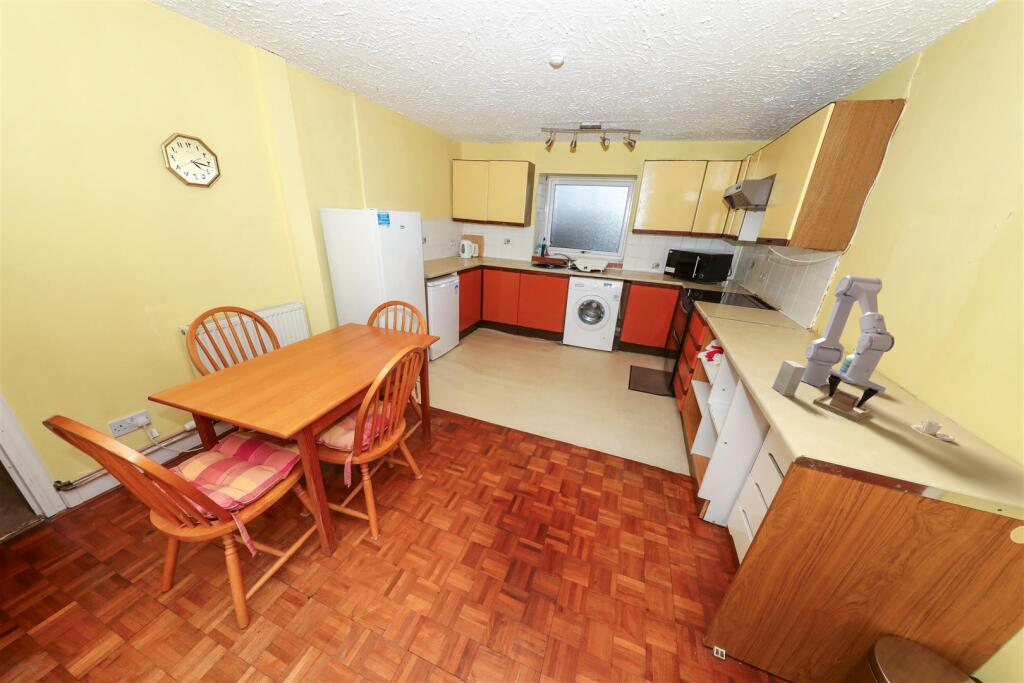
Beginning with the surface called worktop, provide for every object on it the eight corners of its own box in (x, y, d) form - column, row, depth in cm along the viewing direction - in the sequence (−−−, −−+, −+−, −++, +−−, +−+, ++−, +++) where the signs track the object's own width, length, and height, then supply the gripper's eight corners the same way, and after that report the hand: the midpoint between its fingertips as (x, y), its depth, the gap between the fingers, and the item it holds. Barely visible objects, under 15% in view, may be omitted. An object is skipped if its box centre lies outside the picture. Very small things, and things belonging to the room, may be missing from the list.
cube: (834, 402, 119) (841, 390, 117) (852, 409, 115) (859, 397, 113) (829, 404, 117) (835, 392, 115) (847, 412, 113) (853, 399, 111)
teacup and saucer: (958, 445, 101) (966, 434, 99) (927, 440, 102) (934, 429, 101) (932, 428, 109) (938, 418, 107) (903, 424, 110) (909, 413, 109)
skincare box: (794, 396, 122) (807, 367, 118) (782, 395, 122) (795, 367, 118) (782, 388, 128) (794, 360, 123) (771, 387, 128) (782, 359, 123)
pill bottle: (832, 378, 141) (846, 349, 136) (841, 375, 143) (855, 347, 138) (854, 386, 134) (870, 356, 129) (863, 383, 137) (878, 354, 132)
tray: (827, 396, 124) (828, 393, 123) (869, 413, 114) (871, 410, 114) (812, 403, 118) (814, 399, 118) (855, 421, 109) (857, 417, 108)
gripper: (830, 359, 114) (814, 393, 119) (888, 378, 102) (867, 414, 107) (838, 357, 117) (822, 389, 122) (895, 374, 106) (875, 410, 111)
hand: (844, 401), depth 115 cm, fingers open, 7 cm apart
